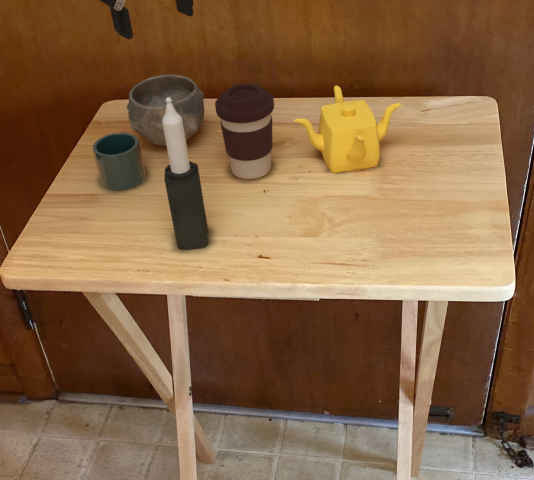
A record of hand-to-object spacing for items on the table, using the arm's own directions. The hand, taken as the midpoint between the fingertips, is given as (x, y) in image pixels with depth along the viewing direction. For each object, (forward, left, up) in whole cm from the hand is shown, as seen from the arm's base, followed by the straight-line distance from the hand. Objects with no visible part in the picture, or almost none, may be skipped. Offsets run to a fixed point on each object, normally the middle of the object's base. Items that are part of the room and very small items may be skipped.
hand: (156, 24), depth 110 cm
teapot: (+33, +7, -35) cm, 49 cm away
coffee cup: (+16, +12, -35) cm, 40 cm away
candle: (-1, -2, -35) cm, 35 cm away
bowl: (+8, +31, -35) cm, 47 cm away
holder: (-5, +22, -35) cm, 41 cm away
